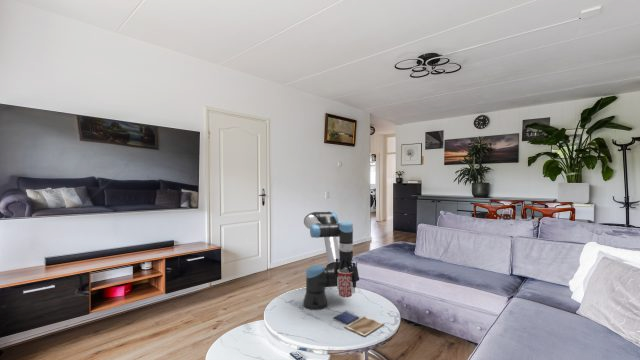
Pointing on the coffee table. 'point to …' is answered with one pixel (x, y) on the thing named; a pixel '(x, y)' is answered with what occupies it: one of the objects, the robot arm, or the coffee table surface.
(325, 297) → the robot arm
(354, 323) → the board
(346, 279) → the mug
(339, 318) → the ink pad
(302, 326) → the coffee table surface
